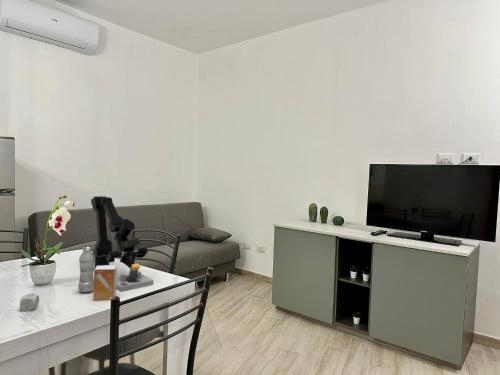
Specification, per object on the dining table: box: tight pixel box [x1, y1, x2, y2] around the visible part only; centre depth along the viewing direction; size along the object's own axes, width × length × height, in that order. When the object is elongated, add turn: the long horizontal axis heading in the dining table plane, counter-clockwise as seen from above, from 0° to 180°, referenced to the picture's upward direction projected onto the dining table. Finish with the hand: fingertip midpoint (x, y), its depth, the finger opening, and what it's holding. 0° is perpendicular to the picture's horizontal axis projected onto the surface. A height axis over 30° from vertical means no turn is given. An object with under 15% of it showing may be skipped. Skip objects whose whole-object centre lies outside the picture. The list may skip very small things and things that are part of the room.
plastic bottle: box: [77, 245, 95, 293], centre depth 151 cm, size 6×7×20 cm
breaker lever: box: [126, 262, 141, 283], centre depth 162 cm, size 2×4×10 cm, turn 135°
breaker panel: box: [116, 270, 154, 293], centre depth 164 cm, size 14×16×5 cm
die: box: [19, 293, 40, 312], centre depth 131 cm, size 5×5×5 cm
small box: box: [92, 264, 118, 301], centre depth 146 cm, size 8×6×13 cm
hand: (133, 269), depth 162 cm, fingers closed, pressing on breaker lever
